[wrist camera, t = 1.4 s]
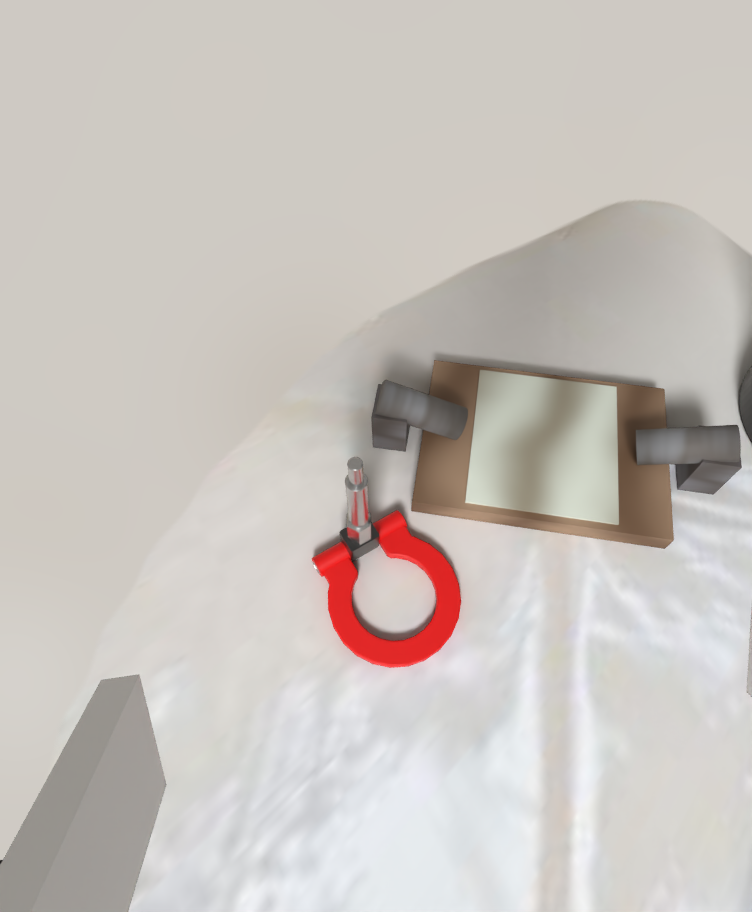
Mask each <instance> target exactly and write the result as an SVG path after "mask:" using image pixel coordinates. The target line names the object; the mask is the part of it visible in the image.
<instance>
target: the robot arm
mask: <svg viewBox="0 0 752 912" xmlns="http://www.w3.org/2000/svg"><path fill="white" fill-rule="evenodd" d="M740 412H741V417H742V421H743V424H744V427H745V429H746V432H747V434H748V436H749V438H750V440H751V441H752V366H751V368H750V369H749V370H748V372H747V374H746V375H745V378H744V380H743V383H742V386H741V390H740ZM747 693H748V694H749V695H750V696H751V697H752V609H751V626H750V643H749V660H748V677H747ZM165 787H166V781H165V777H164V773H163V769H162V765H161V761H160V757H159V753H158V748H157V744H156V740H155V736H154V732H153V728H152V724H151V720H150V716H149V712H148V708H147V704H146V700H145V696H144V691H143V687H142V683H141V679H140V675H132V676H125V677H119V678H112V679H105V680H101V681H100V683H99V685H98V687H97V689H96V691H95V692H94V694H93V696H92V698H91V700H90V702H89V703H88V705H87V707H86V709H85V711H84V713H83V714H82V716H81V718H80V720H79V722H78V724H77V725H76V727H75V729H74V731H73V733H72V734H71V736H70V738H69V740H68V742H67V744H66V745H65V747H64V749H63V751H62V753H61V755H60V756H59V758H58V760H57V762H56V764H55V766H54V767H53V769H52V771H51V773H50V775H49V777H48V778H47V780H46V782H45V784H44V786H43V788H42V789H41V791H40V793H39V795H38V797H37V799H36V800H35V802H34V804H33V806H32V808H31V810H30V811H29V813H28V815H27V817H26V819H25V820H24V822H23V824H22V826H21V828H20V830H19V832H18V834H17V835H16V837H15V839H14V841H13V843H12V844H11V846H10V848H9V850H8V852H7V853H6V855H5V857H4V859H3V860H0V912H128V910H129V907H130V903H131V900H132V897H133V893H134V890H135V887H136V883H137V880H138V877H139V873H140V870H141V867H142V864H143V860H144V857H145V854H146V850H147V847H148V844H149V840H150V837H151V834H152V830H153V827H154V824H155V820H156V817H157V814H158V810H159V807H160V804H161V801H162V797H163V794H164V791H165Z"/></svg>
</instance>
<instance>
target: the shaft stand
mask: <svg viewBox="0 0 752 912" xmlns="http://www.w3.org/2000/svg"><path fill="white" fill-rule="evenodd" d="M410 425H411V426H414V427H417V428H420V429H423V436H422V442H421V448H420V455H419V461H418V467H417V474H416V480H415V487H414V493H413V499H412V510H411V511H415V512H422V513H429V514H435V515H442V516H449V517H456V518H462V519H469V520H476V521H483V522H489V523H496V524H503V525H509V526H516V527H523V528H530V529H536V530H543V531H550V532H557V533H563V534H570V535H577V536H584V537H590V538H597V539H604V540H610V541H617V542H624V543H631V544H637V545H644V546H651V547H658V548H664V549H665V548H666V547H667V546H668V545H669V544H670V543H671V542H672V541H673V540H674V536H673V520H672V504H671V488H670V472H669V464H676V472H677V487H678V490H685V491H692V492H700V493H707V494H714V493H715V492H716V491H717V490H719V489H720V488H721V487H722V486H723V485H724V484H725V483H726V482H727V481H728V480H729V479H730V478H731V477H732V476H733V475H734V474H735V473H736V472H737V471H738V470H740V469H741V468H742V466H741V458H740V433H739V428H738V425H725V426H699V427H684V428H667V424H666V408H665V392H664V389H661V388H653V387H645V386H637V385H629V384H621V383H613V382H605V381H597V380H589V379H581V378H573V377H565V376H557V375H548V374H540V373H532V372H524V371H516V370H508V369H500V368H492V367H484V366H476V365H468V364H460V363H452V362H444V361H436V360H434V366H433V372H432V378H431V385H430V391H429V395H428V394H425V393H422V392H420V391H417V390H414V389H413V388H408V387H405V386H402V385H399V384H396V383H393V382H391V381H388V380H385V381H384V382H383V383H382V384H378V389H377V394H376V398H375V403H374V408H373V413H372V438H373V447H376V448H384V449H391V450H398V451H406V445H407V439H408V433H409V427H410Z"/></svg>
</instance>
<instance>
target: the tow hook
mask: <svg viewBox="0 0 752 912" xmlns="http://www.w3.org/2000/svg"><path fill="white" fill-rule="evenodd" d="M347 465H348V475H347V476H346V479H345V486H346V496H347V505H348V513H347V528H345V529H343V530H341V531H340V538H341V542H339V543H338V544H336V545H334V546H332V547H330V548H329V549H327V550H325V551H323V552H322V553H320V554H318V555H316V556H315V557H313V558H312V561H313V564H314V566H315V568H316V570H317V572H318V573H319V574H320V575H321V576H325V578H326V579H327V581H328V583H329V590H328V610H329V613H330V617H331V620H332V623H333V627H334V629H335V631H336V632H337V634H338V636H339V637H340V639H341V640H342V642H343V644H345V645H346V646H347V647H348V648H349V649H350V650H351V651H352V652H353V653H354V654H355V655H356V656H358V657H360V658H362V659H364V660H366V661H368V662H370V663H372V664H376V665H380V666H385V667H390V668H391V667H406V666H411V665H413V664H416V663H419V662H422V661H425V660H426V659H428V658H429V657H430V656H432V655H433V654H435V653H436V652H438V651H439V650H440V649H441V648H442V646H443V645H444V644H445V643H446V641H447V640H448V639H449V638H450V637H451V635H452V632H453V630H454V628H455V626H456V623H457V621H458V619H459V612H460V605H461V597H460V589H459V583H458V581H457V578H456V576H455V573H454V571H453V568H452V567H451V565H450V564H449V563H448V561H447V560H446V559H445V557H444V556H443V555H442V554H441V553H440V552H439V551H438V550H436V549H435V548H434V547H433V546H431V545H430V544H429V543H427V542H425V541H422V540H420V539H418V538H416V537H413V536H411V534H410V533H409V531H408V529H407V524H406V521H405V519H404V517H403V516H402V514H401V513H400V512H399V511H398V510H396V511H394V512H392V513H391V514H389V515H387V516H385V517H384V518H382V519H380V520H378V521H377V522H375V523H373V524H372V522H371V514H370V513H369V512H368V480H367V477H366V475H365V474H364V473H363V461H362V460H361V459H360V458H358V457H352V458H351V459H349V460H348V464H347ZM379 544H380V545H381V547H382V549H383V550H384V552H385V553H386V555H387V556H388V557H390V558H399V559H404V560H408V561H410V562H412V563H414V564H416V565H418V566H419V567H420V568H421V569H422V570H424V571H425V572H426V574H427V575H428V577H429V578H430V579H431V581H432V583H433V586H434V589H435V592H436V608H435V613H434V615H433V618H432V620H431V622H430V623H429V624H428V625H427V626H426V628H425V629H424V630H423V631H421V632H420V633H418V634H417V635H415V636H414V637H411V638H408V639H405V640H397V641H390V640H385V639H381V638H379V637H377V636H375V635H373V634H371V633H369V632H368V631H367V630H366V629H365V628H364V627H363V626H362V625H361V624H360V622H359V621H358V619H357V618H356V616H355V613H354V610H353V607H352V592H353V587H354V584H355V582H356V580H357V579H358V571H357V569H356V568H355V566H354V564H353V563H352V561H354V560H356V559H358V558H359V557H361V556H363V555H364V554H366V553H368V552H370V551H371V550H373V549H375V548H377V547H378V546H379ZM351 560H352V561H351Z"/></svg>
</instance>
